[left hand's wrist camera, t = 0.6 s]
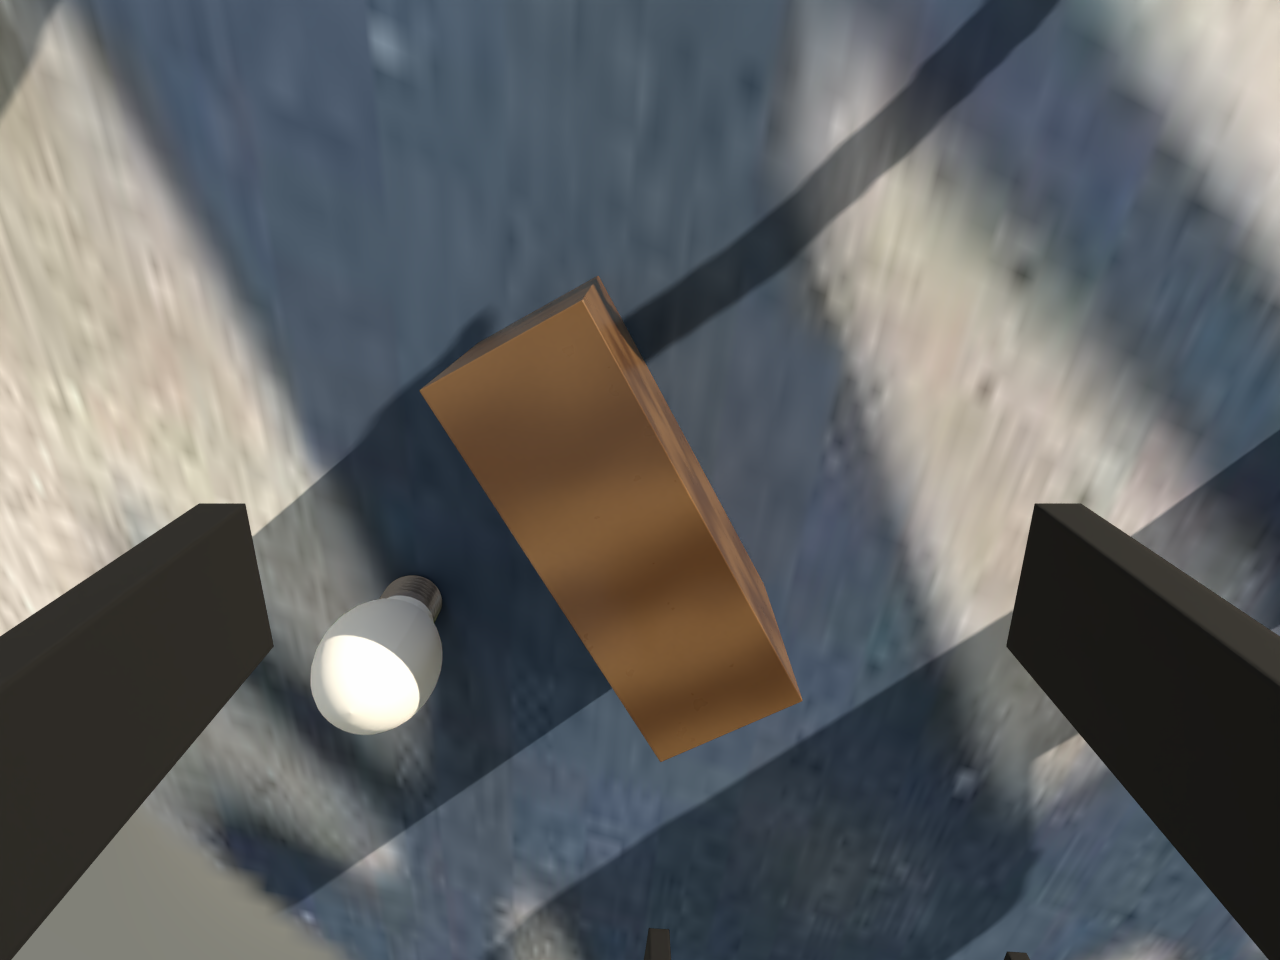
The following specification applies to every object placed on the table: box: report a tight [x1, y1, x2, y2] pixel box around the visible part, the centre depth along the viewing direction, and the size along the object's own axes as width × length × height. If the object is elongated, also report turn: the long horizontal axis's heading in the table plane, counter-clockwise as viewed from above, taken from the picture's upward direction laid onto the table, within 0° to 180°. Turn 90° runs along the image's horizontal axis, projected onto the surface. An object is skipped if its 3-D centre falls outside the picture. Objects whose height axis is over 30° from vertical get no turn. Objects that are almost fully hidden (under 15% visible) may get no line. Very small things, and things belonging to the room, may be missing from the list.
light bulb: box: [311, 576, 442, 735], centre depth 42 cm, size 7×7×11 cm
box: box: [420, 276, 802, 762], centre depth 39 cm, size 22×8×12 cm, turn 28°
